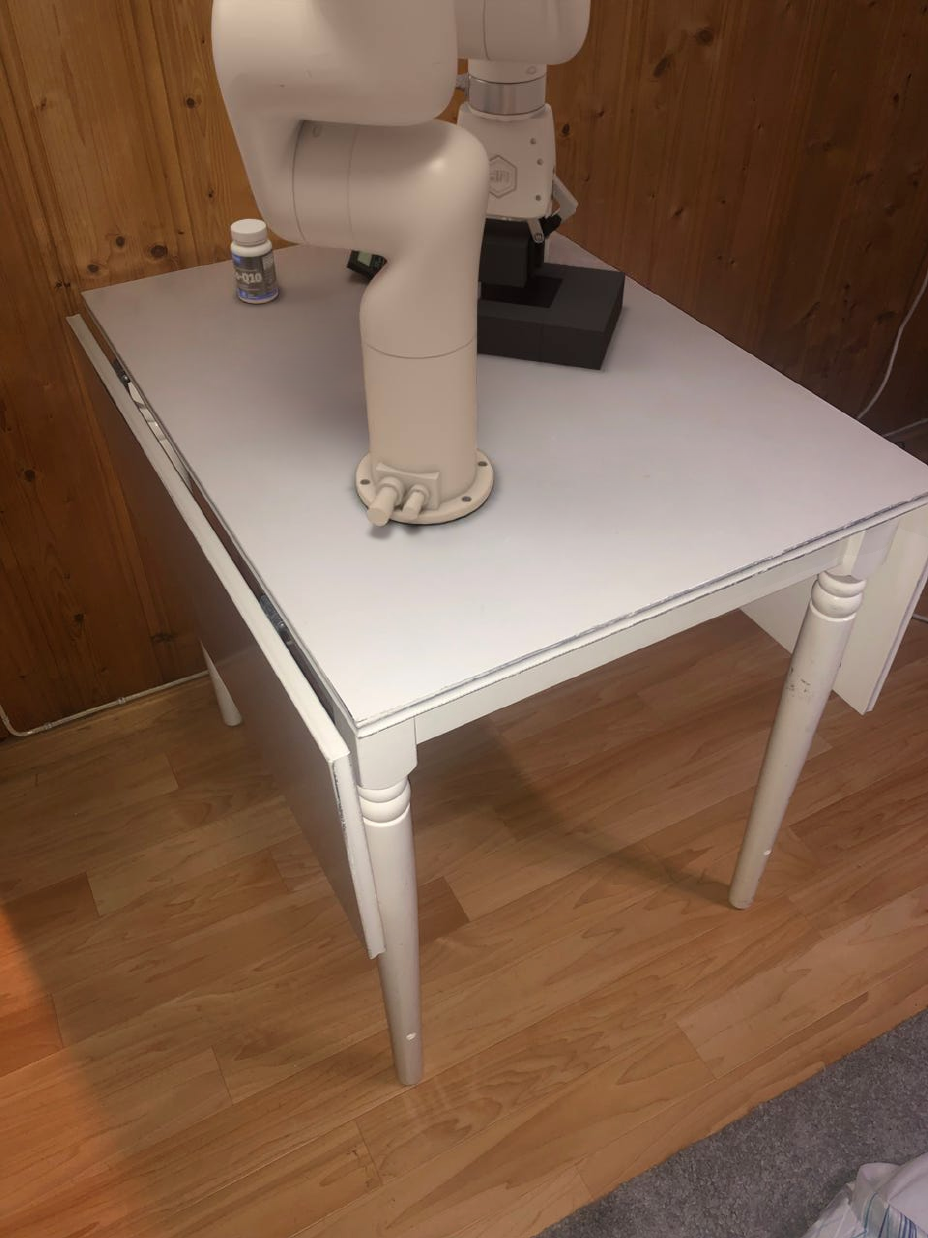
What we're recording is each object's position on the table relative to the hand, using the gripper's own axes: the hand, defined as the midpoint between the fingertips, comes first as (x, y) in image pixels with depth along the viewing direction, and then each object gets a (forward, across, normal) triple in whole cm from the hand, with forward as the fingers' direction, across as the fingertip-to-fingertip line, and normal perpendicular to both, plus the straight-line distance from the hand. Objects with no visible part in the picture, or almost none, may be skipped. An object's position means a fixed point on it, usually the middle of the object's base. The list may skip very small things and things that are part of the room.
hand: (503, 267), depth 111 cm
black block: (+1, 0, 0) cm, 1 cm away
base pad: (+7, +5, 0) cm, 8 cm away
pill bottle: (+7, -29, -1) cm, 30 cm away
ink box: (+7, 0, +12) cm, 14 cm away
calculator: (+7, -15, +10) cm, 19 cm away
